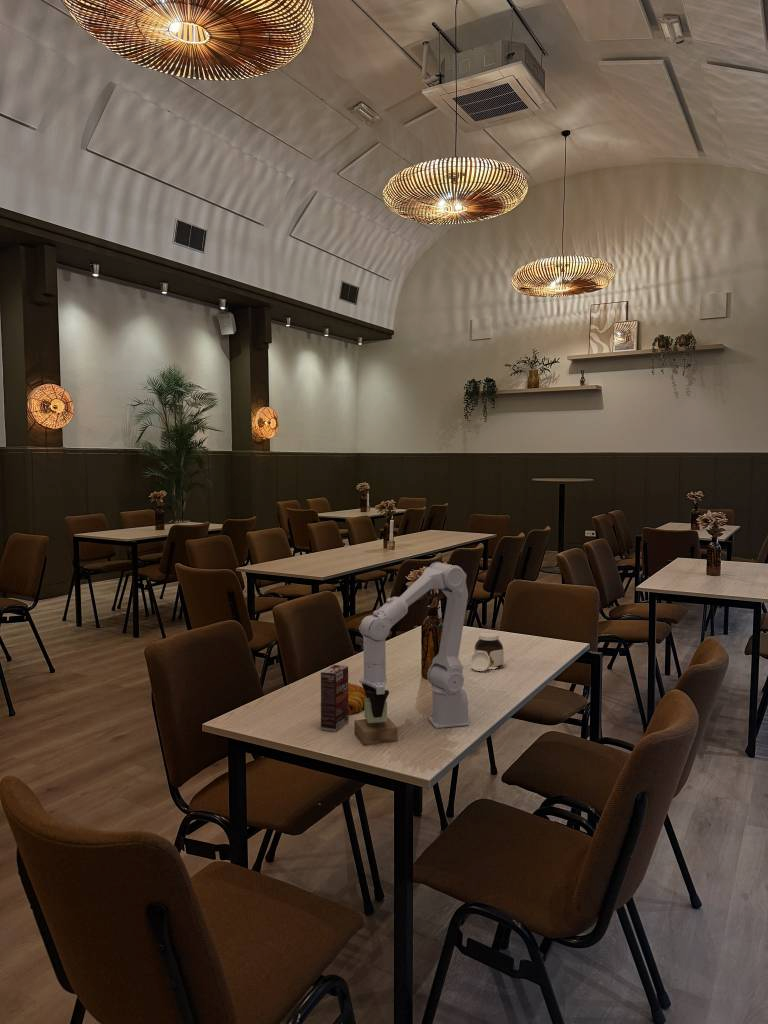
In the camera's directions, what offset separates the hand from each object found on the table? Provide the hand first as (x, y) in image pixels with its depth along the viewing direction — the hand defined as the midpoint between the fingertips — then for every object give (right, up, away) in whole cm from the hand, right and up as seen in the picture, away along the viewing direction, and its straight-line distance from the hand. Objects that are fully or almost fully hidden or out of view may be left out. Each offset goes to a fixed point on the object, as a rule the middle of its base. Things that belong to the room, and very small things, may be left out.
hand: (375, 713), depth 188 cm
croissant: (-9, -5, +25) cm, 27 cm away
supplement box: (-11, -6, +9) cm, 16 cm away
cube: (0, -2, 0) cm, 2 cm away
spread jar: (+38, -2, +64) cm, 75 cm away
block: (0, -7, 0) cm, 7 cm away
